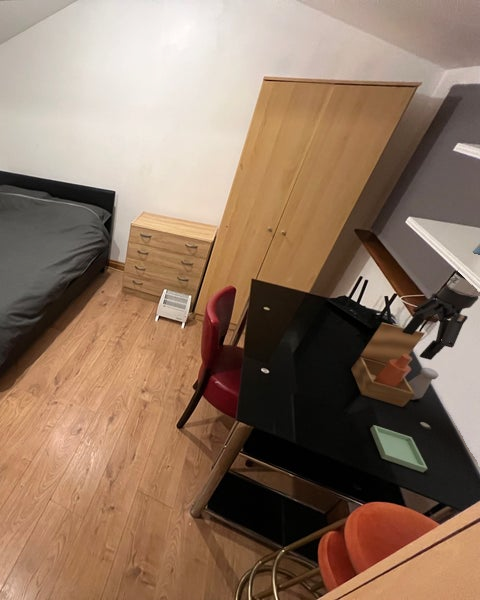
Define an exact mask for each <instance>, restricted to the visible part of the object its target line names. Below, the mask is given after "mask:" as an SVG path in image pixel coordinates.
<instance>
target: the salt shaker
mask: <svg viewBox="0 0 480 600" xmlns="http://www.w3.org/2000/svg"><path fill="white" fill-rule="evenodd" d="M419 373H420V374H418V375H416V376H415V377H414V378H411V380H409V381H407V382H408V384H409V385H410V387H411V389H412V390H413V392H414V394H415V395H414V396H413V397H412V398H411V399H410V400H412V401H414V400H418V399H421V398H423V396H424V395H425V393H426V392H427V390H428V388H429V386H430V384H431V383H432V381H433V380H436V379H437V378H438V377H439V373H438V371H436V370H435V369H433V368H430V367H423V368H422V369H421V370H420V372H419Z"/></svg>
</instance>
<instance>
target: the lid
mask: <svg viewBox="0 0 480 600" xmlns="http://www.w3.org/2000/svg"><path fill="white" fill-rule="evenodd" d="M404 328H405V327H404V326H403V327H402V326H399V325H395V324H390V323H386V322H381V324H380V325H379V326H378V328H377V330H376V331H375V332H374V334H373V335H372V337H371V338H370V340H369V341H368V343H367V345H366V346H365V348H364V349H363V351H362V352H361V353H360V357H363V358H367V359H370V360H374V361H378V362H382V363H385V364H387V363H388V362H389V360H391V359H396V360H398V359H399V358H400V356H401V355H402V354H406V355H409V356H410V355H411V353H412V352H413V350H414V349H415V348H416V346H417V345H418V344H419V342H420V341H421V340H422V338H423V337H424V336H425V332H424V331H419V330H416V331H415V332H414V334H413V335H410V334H406V333H403V332H402V331H403V330H404Z"/></svg>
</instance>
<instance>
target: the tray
mask: <svg viewBox="0 0 480 600" xmlns="http://www.w3.org/2000/svg"><path fill="white" fill-rule="evenodd" d="M369 429H370V433H371V435H372V437H373V440H374V443H375V445H376V448H377V450H378V452H379V455H380V457H381V459H383V460H384V461H388V462H392V463H394V464H398V465H401V466H403V467H406V468H409V469H411V470H413V471H414V470H415V471H418V472H420V473H424V472H426V471H427V470H428V467H427V465H426V462H425V461H424V459H423V457H422V454H421V453H420V450H419V448H418V446H417V445H416V442H415V441H414V439H413V437H412V436H409V435H406V434H403V433H399V432H398V431H397V432H396V431H393V430H390V429H387V428H384V427H382V426H378V425H374V424H373V425H372V427H370V428H369Z"/></svg>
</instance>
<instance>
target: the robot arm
mask: <svg viewBox="0 0 480 600" xmlns="http://www.w3.org/2000/svg"><path fill="white" fill-rule="evenodd" d="M472 252H473V253H474V254H478V255H480V243H479V244H478V245H477V246H476V247H475V248H474V249H473V251H472ZM479 297H480V292H478V291H477V289H476V288H475V287H474V286H473V285H471V284H470V283H469V282H468V281H467V280H466V279H465V278H464V277H463V276H462V275H461V274H460V273H459V272H458V270H456V272H455V273H454V275H453V276H452V277H450V279H449V281H448V282H447V283H446V285H444V286H443V287H442V289H440V291H439V292H438V293H437V292H436V293H432V295H431V296H430V297H429V298H428V299H426V300H424V301H423V302H422V303H420V304H419V305H417V306H415V307H414V308H413V309H412V312H413V317H412V318H411V319H410V321H409V322H408V324H407V325H406V326H405V327H403V328H404V330H403V331H402V332H403V333H406V334H410V335H413V334H414V332H415V331H418V329H419V328H420V326H421V325H423V323H424V322H425V320H427V318H428V317H432V316H433V315H437V317H438V319H437V321H438V322H439V324H438V329H437V334H436V338H435V339H434V340H433V339H432V341H431V342H430V343H429V344H428V345H427V347H426V348H425V349H423V351H422V352H421V353H420V354H419V357H420V358H421V359H426V360H430V361H432V360H433V358H435V357H436V355H438V354H439V353H440V352H441V351H442V350H443V349H444V348H445V347H448V348H454V346H455V345H456V342H457V339H458V337H459V335H460V333H461V330H462V328H463V325H464V324H465V322H466V321H467V320H468V315H465V314H462V311H463V310H465V309H470V308H471V307H473V305H475V303H476V302H477V301H478V300H479Z"/></svg>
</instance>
